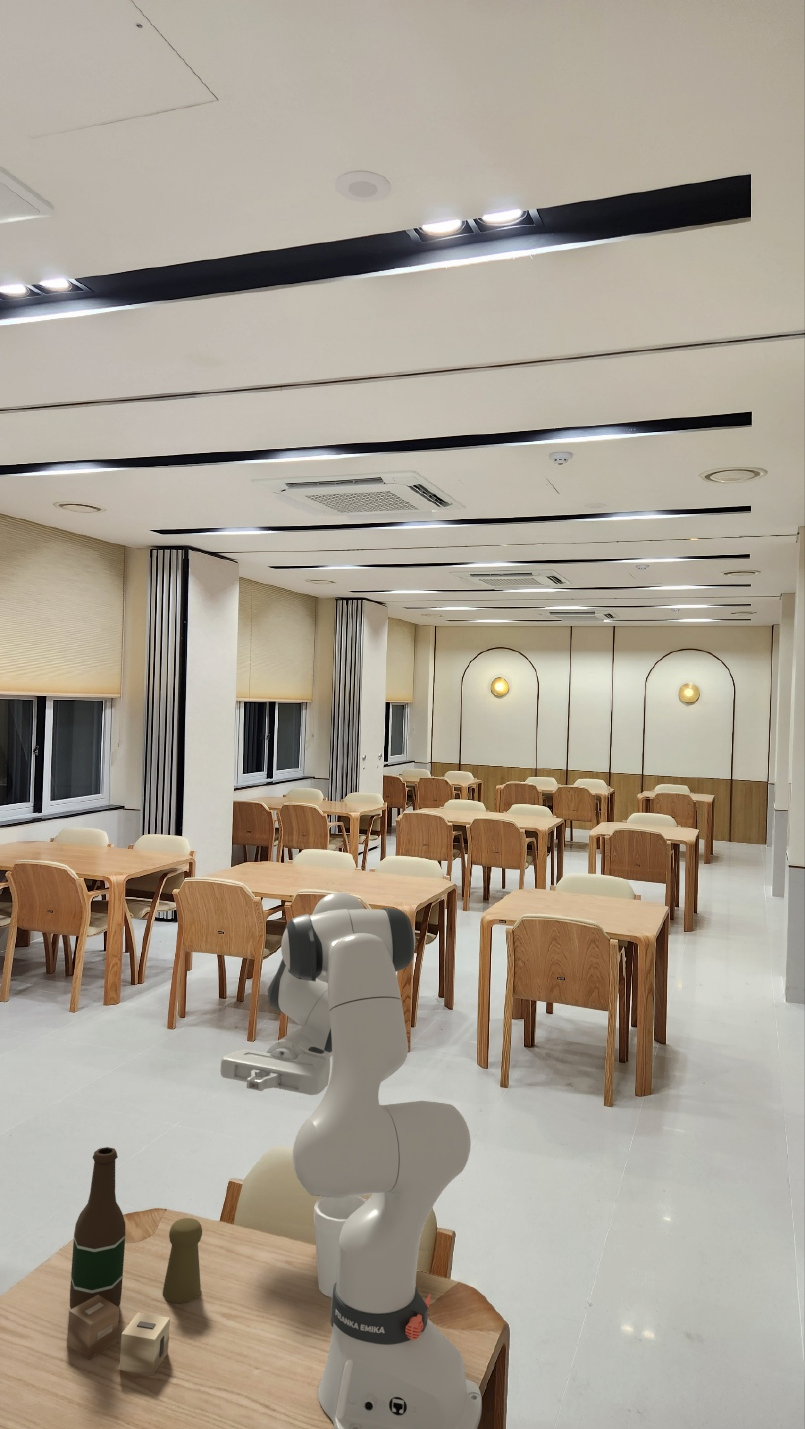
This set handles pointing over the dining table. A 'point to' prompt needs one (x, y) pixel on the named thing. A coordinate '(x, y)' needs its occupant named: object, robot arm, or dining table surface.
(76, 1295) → the beer bottle
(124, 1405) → the dining table surface
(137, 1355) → the beech cube marked
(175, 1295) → the cork
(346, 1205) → the foam cup
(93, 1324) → the walnut cube marked
